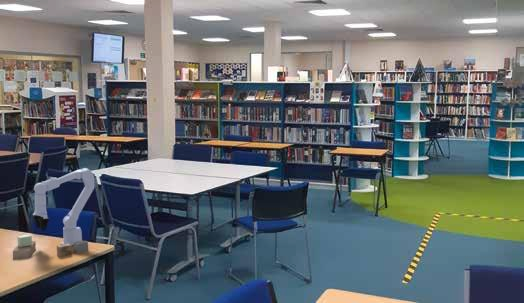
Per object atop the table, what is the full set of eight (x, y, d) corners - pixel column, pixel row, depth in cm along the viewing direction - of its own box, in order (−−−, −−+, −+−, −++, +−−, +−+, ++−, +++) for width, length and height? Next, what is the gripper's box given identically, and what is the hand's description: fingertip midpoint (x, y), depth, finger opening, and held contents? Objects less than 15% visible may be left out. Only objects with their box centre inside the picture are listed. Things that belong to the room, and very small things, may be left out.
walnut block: (68, 252, 277) (67, 243, 276) (71, 254, 274) (71, 245, 273) (57, 254, 272) (56, 245, 272) (60, 256, 270) (59, 247, 269)
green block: (29, 243, 278) (29, 234, 277) (32, 245, 275) (31, 235, 274) (18, 245, 274) (17, 236, 274) (20, 247, 271) (19, 237, 271)
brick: (29, 258, 268) (29, 249, 267) (12, 259, 266) (11, 250, 265) (36, 248, 284) (35, 240, 283) (19, 249, 282) (19, 241, 282)
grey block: (85, 249, 282) (84, 240, 281) (88, 251, 279) (88, 242, 278) (74, 251, 278) (74, 242, 277) (77, 253, 275) (77, 244, 274)
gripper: (28, 203, 284) (29, 227, 286) (37, 208, 274) (38, 233, 275) (41, 202, 289) (41, 225, 291) (51, 206, 279) (51, 230, 280)
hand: (41, 229), depth 283 cm, fingers open, 7 cm apart
